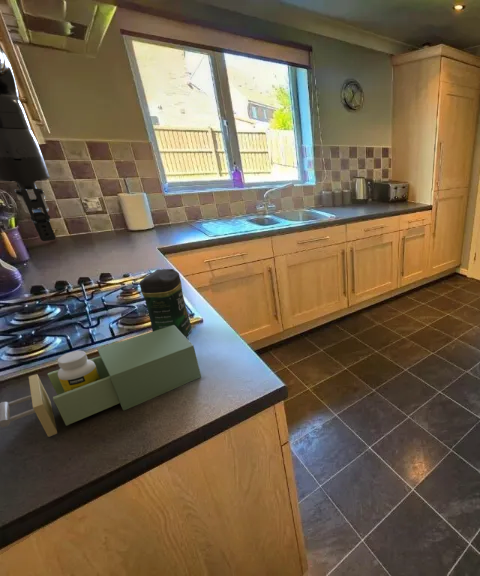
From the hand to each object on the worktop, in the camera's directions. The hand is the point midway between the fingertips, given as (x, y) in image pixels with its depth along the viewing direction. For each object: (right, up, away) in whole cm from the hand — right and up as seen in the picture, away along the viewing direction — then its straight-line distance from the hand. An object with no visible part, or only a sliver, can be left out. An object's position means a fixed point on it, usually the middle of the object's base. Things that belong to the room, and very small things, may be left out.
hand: (46, 236), depth 70 cm
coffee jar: (+14, -24, +21) cm, 35 cm away
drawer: (+12, -35, -6) cm, 37 cm away
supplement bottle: (+13, -33, -4) cm, 36 cm away
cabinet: (+21, -32, +4) cm, 38 cm away
